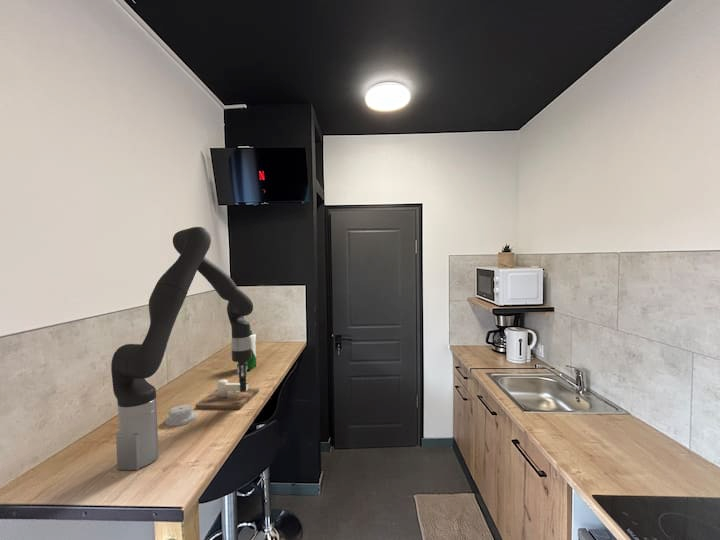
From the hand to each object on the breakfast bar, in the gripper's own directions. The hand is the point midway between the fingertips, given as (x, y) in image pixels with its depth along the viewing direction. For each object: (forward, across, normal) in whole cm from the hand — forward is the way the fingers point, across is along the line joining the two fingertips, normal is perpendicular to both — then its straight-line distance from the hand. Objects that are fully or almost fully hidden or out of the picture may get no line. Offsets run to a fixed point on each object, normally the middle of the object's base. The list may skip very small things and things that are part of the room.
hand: (243, 391), depth 136 cm
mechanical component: (+6, -6, +21) cm, 23 cm away
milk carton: (+6, +49, -2) cm, 49 cm away
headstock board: (+5, +7, +6) cm, 10 cm away
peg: (+3, +6, +4) cm, 8 cm away
